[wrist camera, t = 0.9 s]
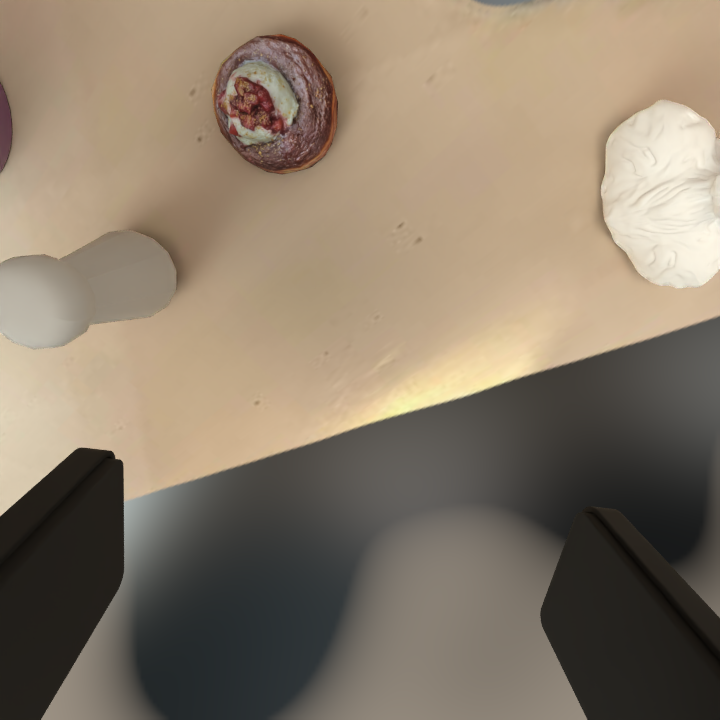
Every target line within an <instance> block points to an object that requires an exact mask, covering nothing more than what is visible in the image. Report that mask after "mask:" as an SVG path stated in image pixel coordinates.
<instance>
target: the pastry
mask: <svg viewBox="0 0 720 720" xmlns="http://www.w3.org/2000/svg"><path fill="white" fill-rule="evenodd" d="M211 91H212V98H213V105H214V112H215V115H216V118H217V121H218V124H219V127H220V130H221V133H222V134H223V135H224V136H225V138H226V139H227V140H228V141H229V143H230V144H231V145H232V146H233V148H234V149H235V150H236V151H237V152H238V153H239V154H240V155H241V156H242V157H243V158H244V159H245V160H247V161H248V162H250V163H252V164H254V165H256V166H258V167H260V168H261V169H263V170H265V171H267V172H273V173H278V174H286V173H291V172H295V171H300V170H303V169H307V168H310V167H312V166H313V165H314V164H316V163H317V162H318V161H319V160H320V159H322V158H323V157H324V156H325V155H326V153H327V151H328V149H329V148H330V146H331V144H332V140H333V136H334V133H335V130H336V128H337V112H338V101H337V97H336V93H335V89H334V85H333V81H332V77H331V75H330V74H329V73H328V72H327V70H326V69H325V68H324V67H323V65H322V64H321V63H320V62H319V60H318V59H317V58H316V57H315V55H314V54H313V53H312V52H311V51H310V49H308V48H307V47H306V46H304V45H303V44H302V43H300V42H299V41H298V40H296V39H294V38H291V37H288V36H285V35H282V34H279V35H268V36H257V37H255V38H254V39H252V40H250V41H249V42H247V43H246V44H244V45H242V46H241V47H239V48H238V49H236V50H235V51H234V52H233V53H232V54H231V55H230V56H229V57H228V58H227V59H225V60H224V61H223V62H222V64H221V66H220V69H219V71H218V74H217V76H216V79H215V82H214V84H213V87H212V89H211Z"/></svg>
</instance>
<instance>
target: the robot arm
mask: <svg viewBox="0 0 720 720" xmlns="http://www.w3.org/2000/svg"><path fill="white" fill-rule="evenodd" d="M123 573H124V479H123V462H122V461H121V460H118V459H115V455H114V453H113V452H112V451H107V450H99V449H90V448H78V449H76V450H75V451H74V452H73V453H71V454H70V455H69V456H68V457H67V458H66V459H65V460H64V461H62V462H61V463H60V464H59V465H58V466H57V467H56V468H55V469H53V470H52V471H51V472H50V473H49V474H48V475H47V476H45V477H44V478H43V479H42V480H41V481H40V482H39V483H38V484H36V485H35V486H34V487H33V488H32V489H31V490H30V491H28V492H27V493H26V494H25V495H24V496H23V497H22V498H21V499H19V500H18V501H17V502H16V503H15V504H14V505H13V506H12V507H10V508H9V509H8V510H7V511H6V512H5V513H4V514H2V515H1V516H0V720H41V718H42V717H43V715H44V713H45V712H46V710H47V708H48V707H49V705H50V703H51V702H52V700H53V698H54V696H55V695H56V693H57V691H58V690H59V688H60V686H61V685H62V683H63V681H64V679H65V678H66V676H67V675H68V673H69V671H70V670H71V668H72V666H73V665H74V663H75V661H76V660H77V658H78V656H79V655H80V653H81V651H82V649H83V648H84V646H85V644H86V643H87V641H88V639H89V638H90V636H91V634H92V633H93V631H94V629H95V628H96V626H97V624H98V623H99V621H100V619H101V618H102V616H103V614H104V613H105V611H106V609H107V608H108V606H109V604H110V602H111V601H112V599H113V597H114V596H115V594H116V592H117V590H118V589H119V587H120V584H121V581H122V578H123ZM540 616H541V623H542V627H543V629H544V631H545V633H546V635H547V637H548V639H549V642H550V643H551V646H552V648H553V650H554V652H555V654H556V656H557V658H558V660H559V662H560V664H561V666H562V668H563V670H564V672H565V674H566V676H567V678H568V681H569V683H570V685H571V687H572V689H573V691H574V693H575V695H576V697H577V699H578V701H579V703H580V705H581V707H582V709H583V711H584V713H585V715H586V717H587V720H720V618H719V617H718V616H717V615H716V614H715V612H714V611H713V610H712V609H711V608H710V607H709V606H708V605H707V604H706V603H705V602H704V601H703V600H702V599H701V598H700V596H699V595H698V594H696V592H695V591H694V590H693V589H692V588H691V587H690V586H689V585H688V584H687V583H686V582H685V580H684V579H682V577H681V576H680V575H679V574H678V573H677V572H676V571H675V570H674V569H673V568H672V567H671V566H670V564H669V563H667V561H666V560H665V559H664V558H663V557H662V556H661V555H660V554H659V553H658V552H657V551H656V550H655V549H654V547H653V546H652V545H651V544H650V543H649V542H648V541H647V540H646V539H645V538H644V537H643V536H642V535H641V534H640V533H639V531H637V529H635V527H634V526H633V525H632V524H631V523H630V522H629V521H628V520H627V519H626V518H625V517H624V515H623V514H622V513H620V512H619V511H618V510H615V509H608V508H599V507H586V508H585V509H584V510H583V511H582V512H581V513H578V514H577V515H576V516H575V518H574V521H573V523H572V526H571V529H570V532H569V534H568V537H567V540H566V542H565V545H564V548H563V551H562V553H561V556H560V559H559V562H558V564H557V567H556V570H555V572H554V575H553V578H552V580H551V583H550V586H549V588H548V591H547V594H546V597H545V599H544V602H543V605H542V608H541V615H540Z"/></svg>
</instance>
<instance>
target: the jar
mask: <svg viewBox="0 0 720 720" xmlns="http://www.w3.org/2000/svg"><path fill="white" fill-rule="evenodd" d="M11 140H12V121H11V114H10V109H9V105H8V101H7V97H6V95H5V92H4V89H3V87H2V84H1V82H0V172H1V171H2V169H3V167H4V165H5V163H6V161H7V158H8V155H9V151H10V148H11Z"/></svg>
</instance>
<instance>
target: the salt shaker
mask: <svg viewBox="0 0 720 720" xmlns="http://www.w3.org/2000/svg"><path fill="white" fill-rule="evenodd" d="M176 274H177V271H176V268H175V266H174V264H173V262H172V260H171V257H170V255H169V253H168V252H167V251H166V250H165V249H164V248H163V247H162V246H161V245H160V244H159V243H158V242H157V241H155V240H154V239H153V238H151V237H148V236H146V235H143V234H140V233H138V232H135V231H132V230H124V231H114V232H108V233H107V234H105V235H103V236H101V237H99V238H98V239H96V240H94V241H92V242H91V243H89V244H87V245H85V246H83V247H82V248H80V249H78V250H76V251H75V252H73V253H71V254H69V255H67V256H65V257H63V258H61V259H56V258H53V257H51V256H48V255H45V254H44V255H30V256H20V257H13V258H10V259H8V260H6V261H4V262H2V263H1V264H0V333H1V334H2V335H4V336H5V337H6V338H7V339H9V340H10V341H11V342H13V343H15V344H18V345H22V346H25V347H28V348H31V349H44V348H55V347H61V346H64V345H66V344H68V343H69V342H71V341H73V340H74V339H76V338H77V337H79V336H80V335H82V334H83V333H85V332H86V331H87V329H88V327H89V325H92V324H99V323H107V322H115V321H123V320H131V319H139V318H147V317H151V316H153V315H154V314H156V313H157V312H159V311H161V310H162V309H164V308H165V307H166V306H167V305H168V304H169V302H170V300H171V298H172V296H173V295H174V293H175V291H176Z"/></svg>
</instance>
